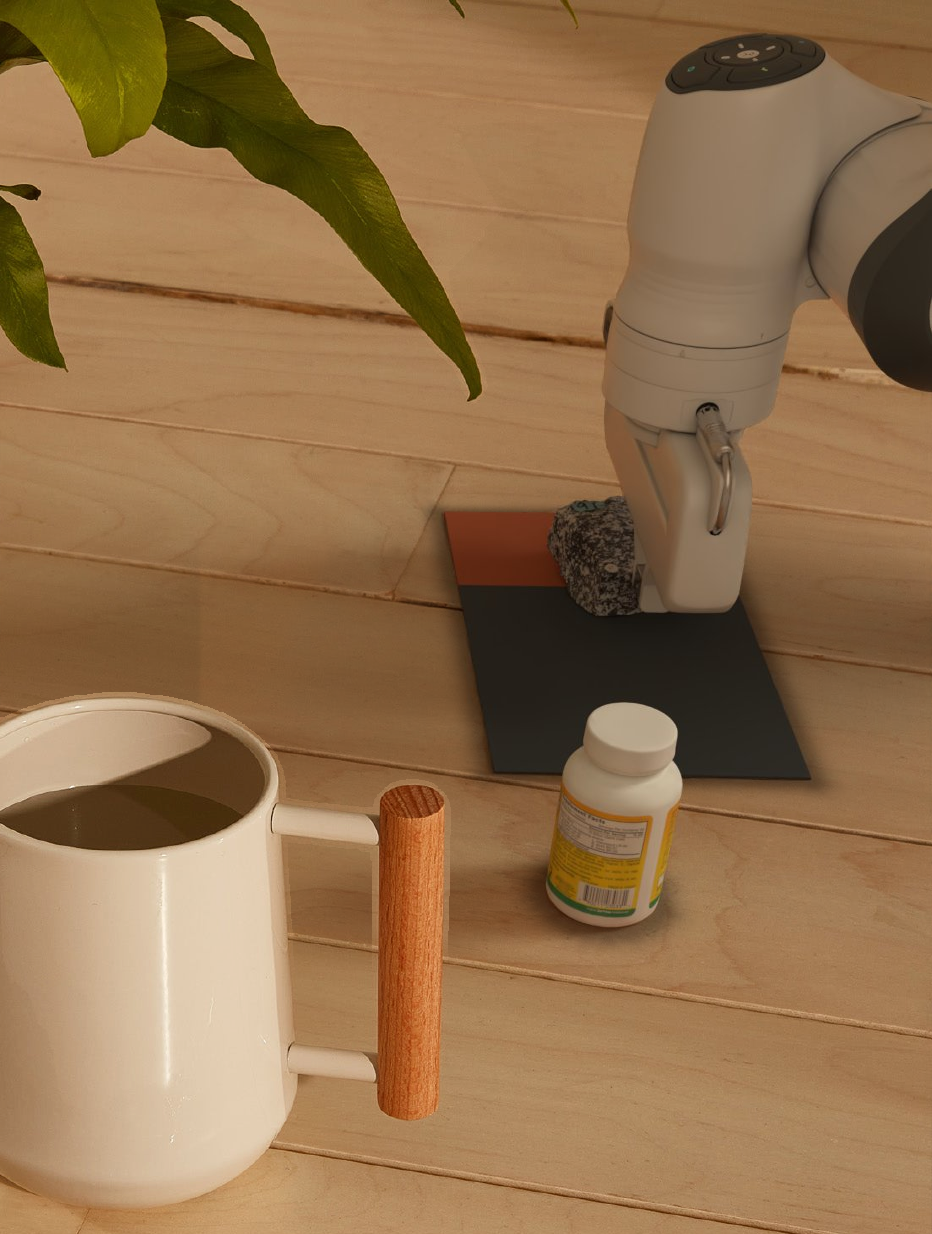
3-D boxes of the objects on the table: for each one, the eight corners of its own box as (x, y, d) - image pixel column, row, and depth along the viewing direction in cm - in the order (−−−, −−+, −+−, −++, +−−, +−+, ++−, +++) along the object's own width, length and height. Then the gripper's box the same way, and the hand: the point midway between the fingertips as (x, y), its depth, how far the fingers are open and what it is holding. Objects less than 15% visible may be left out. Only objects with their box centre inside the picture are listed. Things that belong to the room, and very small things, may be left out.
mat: (707, 517, 132) (708, 515, 132) (811, 779, 110) (811, 777, 110) (444, 513, 133) (444, 511, 132) (493, 773, 110) (493, 771, 110)
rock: (753, 605, 123) (767, 540, 121) (582, 621, 122) (592, 555, 119) (701, 541, 129) (713, 478, 127) (538, 556, 128) (547, 492, 125)
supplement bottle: (593, 944, 99) (623, 772, 94) (520, 882, 103) (545, 713, 97) (683, 909, 101) (718, 738, 96) (609, 849, 105) (639, 682, 99)
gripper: (800, 459, 103) (747, 702, 111) (715, 291, 119) (674, 514, 128) (667, 458, 103) (624, 701, 112) (600, 290, 120) (567, 513, 128)
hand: (650, 600), depth 120 cm, fingers closed
